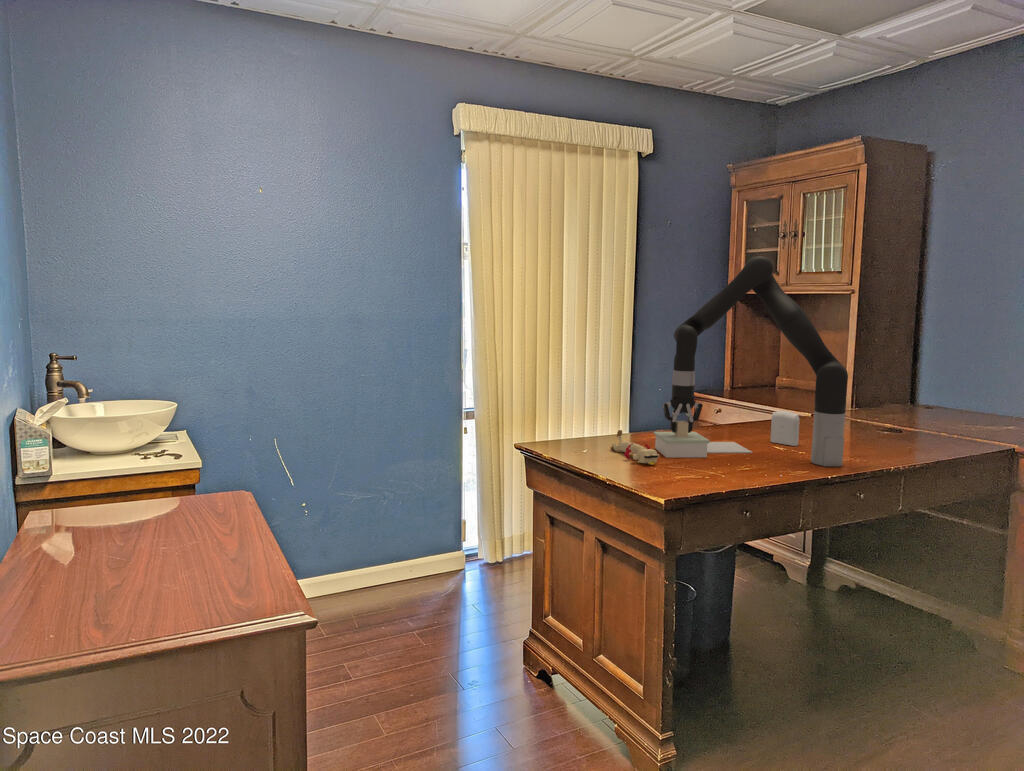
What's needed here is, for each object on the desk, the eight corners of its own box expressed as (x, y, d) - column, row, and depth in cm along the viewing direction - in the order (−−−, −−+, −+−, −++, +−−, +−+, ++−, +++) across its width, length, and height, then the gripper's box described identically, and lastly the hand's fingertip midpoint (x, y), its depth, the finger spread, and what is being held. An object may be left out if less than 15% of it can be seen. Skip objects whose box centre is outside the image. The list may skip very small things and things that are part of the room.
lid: (709, 443, 238) (710, 425, 237) (665, 443, 237) (666, 425, 236) (695, 434, 253) (695, 418, 252) (653, 434, 252) (654, 417, 251)
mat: (752, 453, 247) (752, 452, 247) (704, 453, 246) (704, 452, 246) (733, 442, 264) (734, 441, 264) (689, 442, 263) (689, 441, 263)
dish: (706, 457, 239) (707, 442, 239) (666, 457, 238) (666, 442, 238) (693, 448, 253) (694, 434, 253) (655, 448, 252) (655, 434, 252)
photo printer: (768, 442, 266) (770, 409, 265) (774, 440, 269) (776, 408, 267) (793, 447, 258) (796, 413, 257) (799, 445, 261) (802, 412, 259)
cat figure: (604, 455, 247) (639, 465, 224) (604, 430, 247) (639, 438, 223) (630, 453, 250) (667, 463, 227) (630, 428, 250) (667, 436, 226)
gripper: (666, 384, 238) (663, 434, 241) (707, 385, 239) (705, 434, 242) (659, 382, 246) (657, 430, 248) (700, 382, 247) (697, 430, 249)
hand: (681, 432), depth 245 cm, fingers open, 4 cm apart
